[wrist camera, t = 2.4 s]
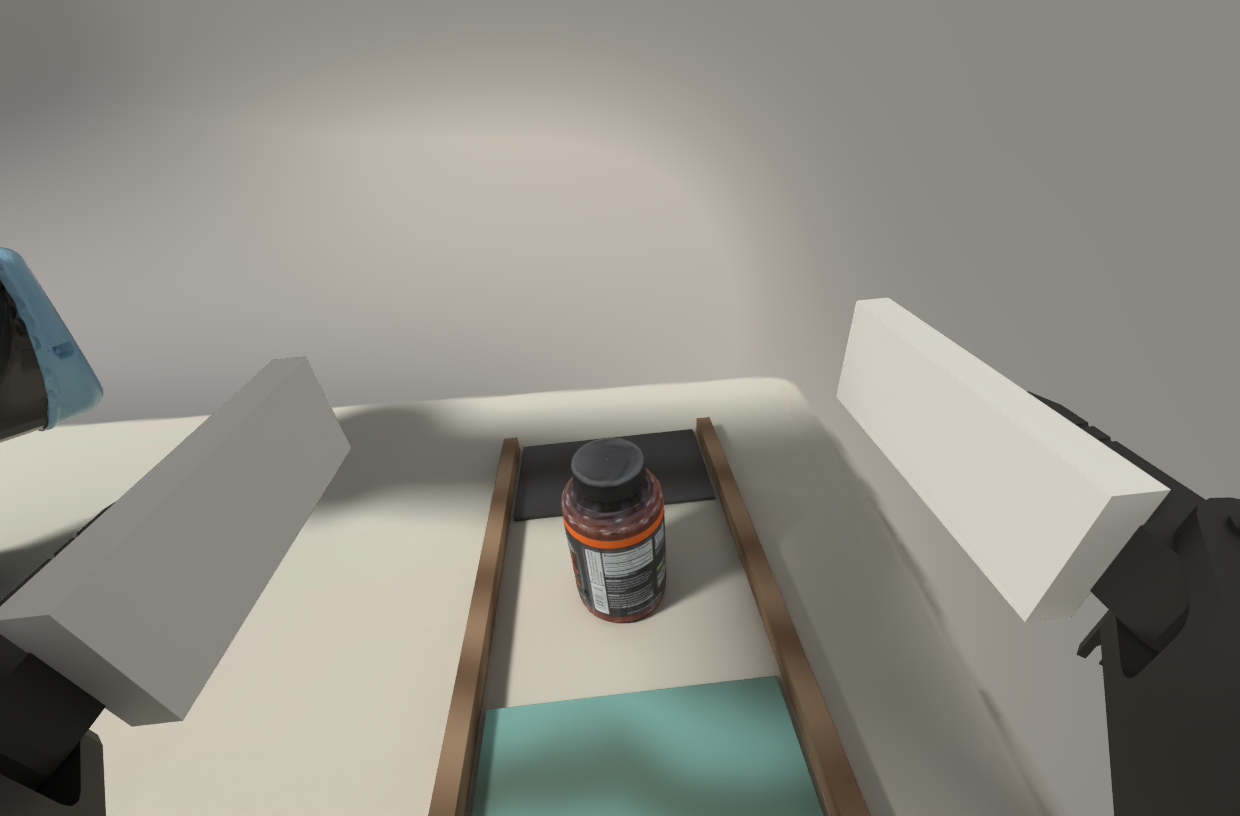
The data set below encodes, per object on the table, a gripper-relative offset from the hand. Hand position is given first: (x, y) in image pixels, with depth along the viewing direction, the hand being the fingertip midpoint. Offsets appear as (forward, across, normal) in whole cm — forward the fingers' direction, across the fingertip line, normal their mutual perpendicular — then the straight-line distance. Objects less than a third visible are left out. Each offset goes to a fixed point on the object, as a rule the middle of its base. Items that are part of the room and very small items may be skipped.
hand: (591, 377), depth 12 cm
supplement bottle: (+10, 0, -22) cm, 24 cm away
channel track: (+10, 0, -22) cm, 24 cm away
